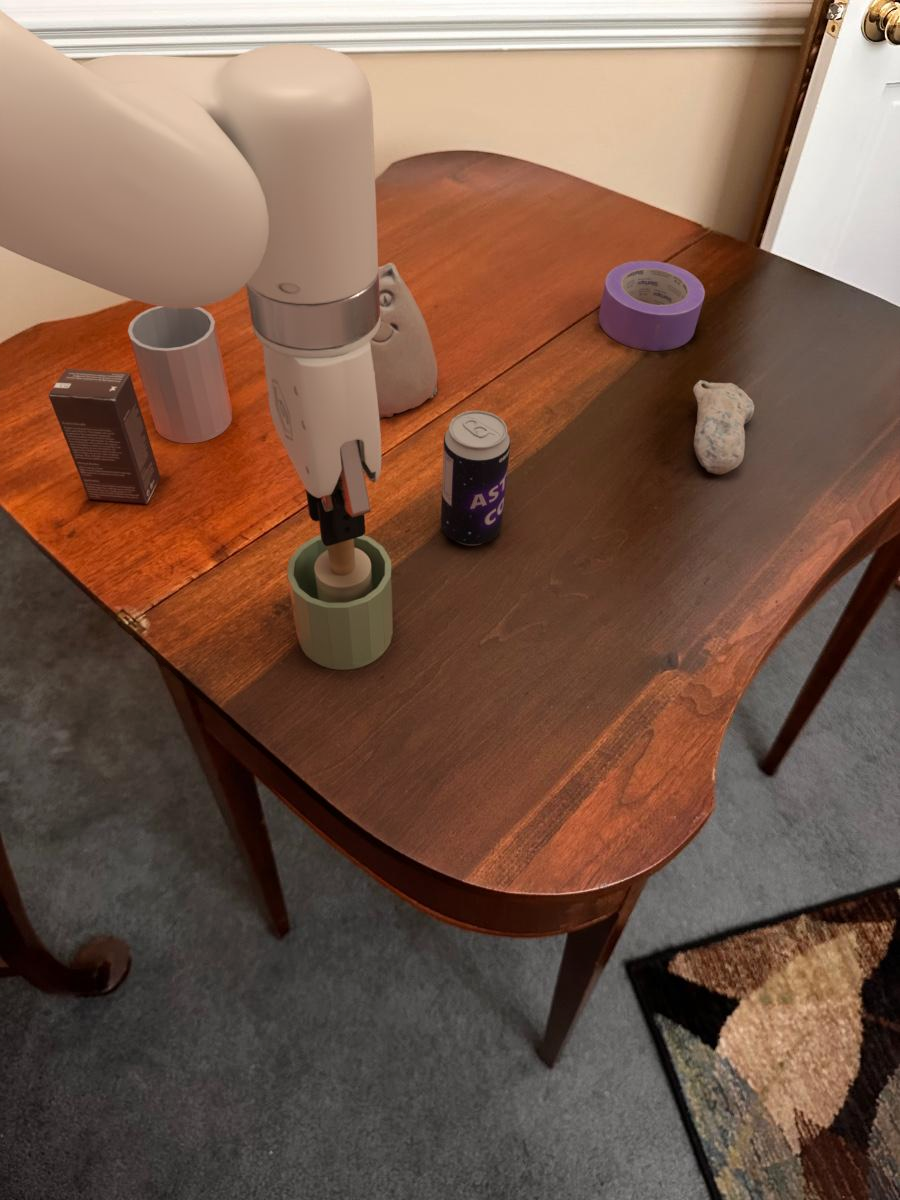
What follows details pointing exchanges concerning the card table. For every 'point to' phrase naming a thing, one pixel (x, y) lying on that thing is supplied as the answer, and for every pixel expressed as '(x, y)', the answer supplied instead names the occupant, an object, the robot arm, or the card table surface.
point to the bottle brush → (343, 572)
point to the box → (106, 435)
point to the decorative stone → (721, 425)
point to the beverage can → (474, 477)
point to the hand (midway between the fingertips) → (337, 524)
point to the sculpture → (401, 349)
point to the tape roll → (650, 305)
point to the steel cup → (182, 372)
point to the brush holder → (341, 610)
